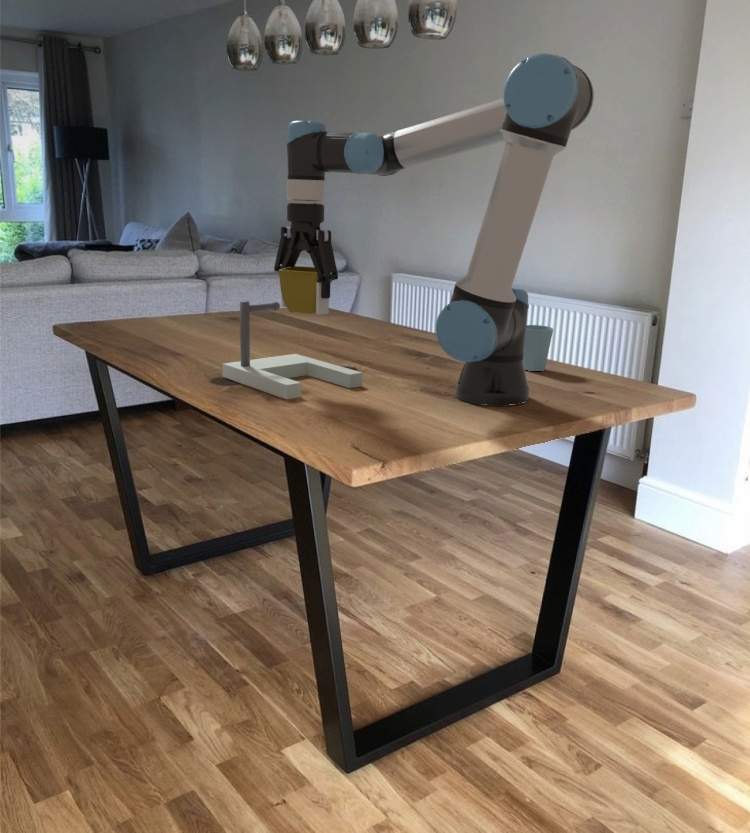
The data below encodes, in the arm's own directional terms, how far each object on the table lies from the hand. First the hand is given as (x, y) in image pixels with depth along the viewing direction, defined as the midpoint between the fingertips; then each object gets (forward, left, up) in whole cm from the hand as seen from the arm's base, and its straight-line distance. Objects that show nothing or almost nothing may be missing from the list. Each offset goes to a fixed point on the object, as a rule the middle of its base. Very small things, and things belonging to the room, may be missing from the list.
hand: (304, 310), depth 168 cm
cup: (-19, -56, -16) cm, 61 cm away
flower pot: (0, 0, -1) cm, 1 cm away
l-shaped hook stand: (+4, 0, -16) cm, 17 cm away
